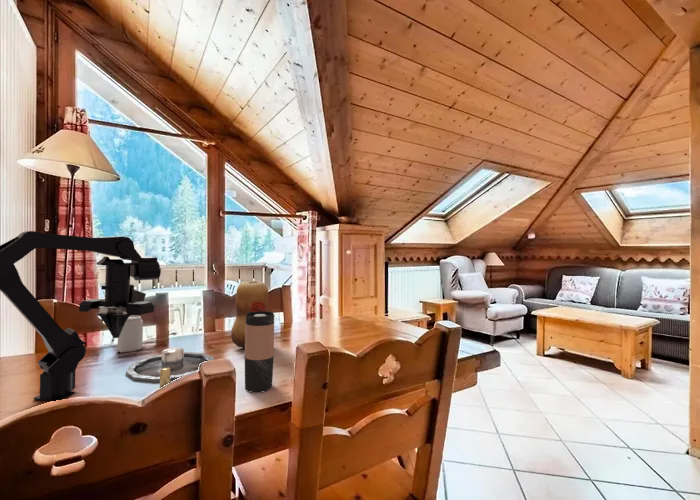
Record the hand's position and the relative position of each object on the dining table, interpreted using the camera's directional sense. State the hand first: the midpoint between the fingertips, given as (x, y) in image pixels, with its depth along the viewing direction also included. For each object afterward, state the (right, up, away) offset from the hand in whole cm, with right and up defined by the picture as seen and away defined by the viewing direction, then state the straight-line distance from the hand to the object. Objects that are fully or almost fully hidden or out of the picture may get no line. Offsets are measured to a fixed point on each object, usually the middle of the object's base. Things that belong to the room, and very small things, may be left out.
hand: (116, 337), depth 97 cm
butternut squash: (+28, -12, +33) cm, 45 cm away
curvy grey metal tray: (+12, -12, +7) cm, 18 cm away
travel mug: (+40, -13, -2) cm, 42 cm away
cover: (+11, -11, +9) cm, 18 cm away
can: (-13, -11, +26) cm, 31 cm away
